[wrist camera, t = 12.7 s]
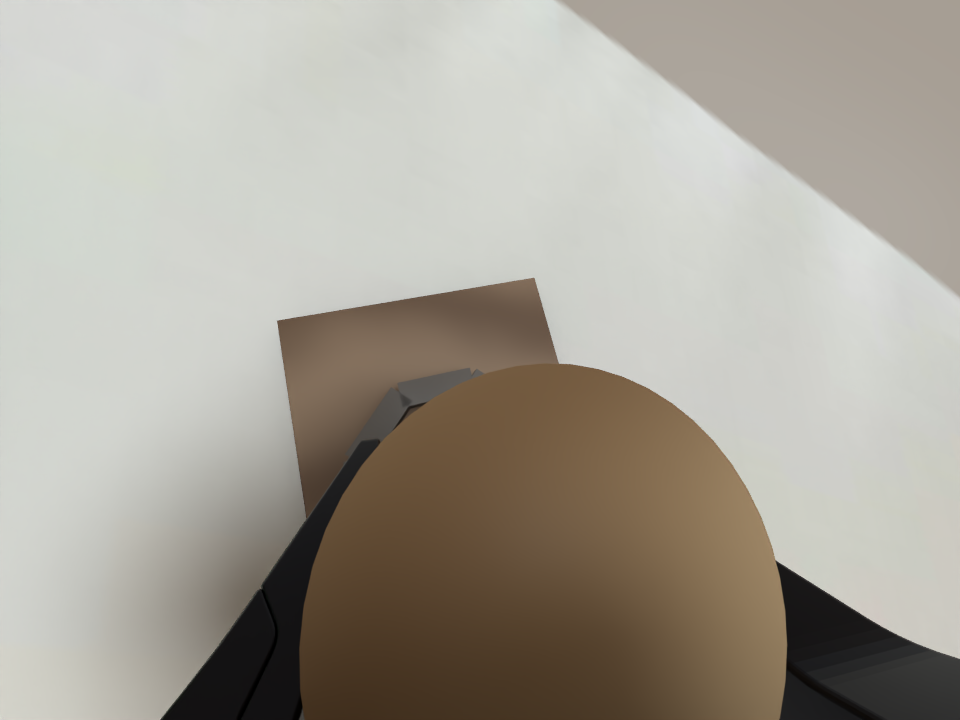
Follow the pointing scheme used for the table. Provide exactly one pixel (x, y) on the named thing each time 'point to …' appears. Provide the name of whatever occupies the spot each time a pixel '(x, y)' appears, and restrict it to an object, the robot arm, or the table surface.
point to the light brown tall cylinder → (545, 565)
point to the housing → (397, 365)
